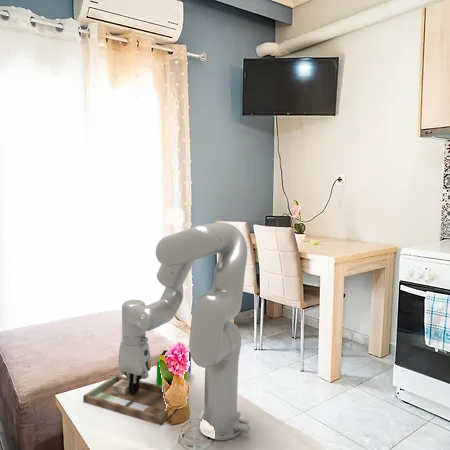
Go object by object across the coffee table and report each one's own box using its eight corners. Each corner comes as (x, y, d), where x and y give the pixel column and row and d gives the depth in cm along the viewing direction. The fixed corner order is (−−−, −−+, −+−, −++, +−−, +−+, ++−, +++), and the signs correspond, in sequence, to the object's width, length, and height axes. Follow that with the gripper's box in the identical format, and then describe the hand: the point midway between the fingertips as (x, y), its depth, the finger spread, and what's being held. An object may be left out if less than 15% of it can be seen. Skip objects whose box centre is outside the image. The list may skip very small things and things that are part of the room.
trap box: (188, 403, 131) (188, 393, 131) (160, 430, 117) (160, 418, 116) (116, 384, 143) (116, 374, 143) (83, 406, 128) (83, 395, 128)
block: (134, 389, 137) (134, 382, 136) (124, 396, 132) (124, 388, 132) (122, 386, 139) (122, 379, 138) (112, 392, 134) (112, 385, 134)
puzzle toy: (190, 377, 149) (190, 351, 148) (185, 391, 139) (185, 363, 138) (164, 376, 150) (164, 350, 149) (156, 389, 140) (156, 361, 139)
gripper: (159, 338, 132) (159, 392, 134) (122, 331, 138) (123, 382, 140) (146, 346, 125) (146, 403, 127) (107, 338, 131) (108, 392, 133)
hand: (134, 392), depth 134 cm, fingers closed
